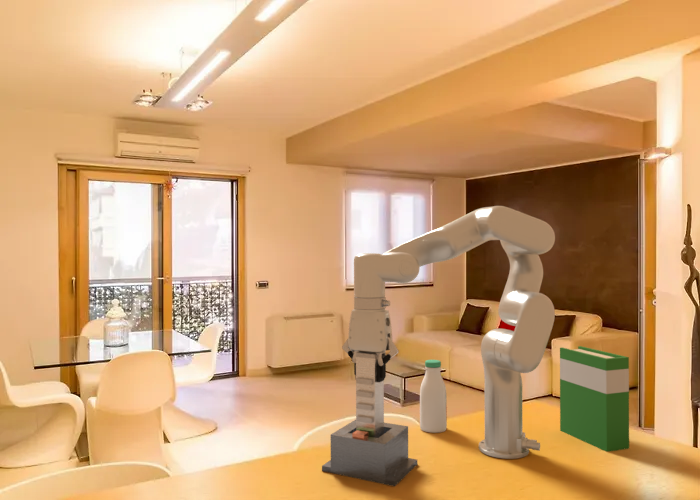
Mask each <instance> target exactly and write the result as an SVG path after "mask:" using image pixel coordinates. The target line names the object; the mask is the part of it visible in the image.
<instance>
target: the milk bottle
mask: <svg viewBox="0 0 700 500" xmlns="http://www.w3.org/2000/svg"><path fill="white" fill-rule="evenodd" d="M424 361H425V362H424V366H425V367H424V368H425V373H424V377H423V379H422V381H421V384H420V388H419V428H420V430H421V431H422V432H427V433H431V434H436V433H437V434H439V433H443V432H446V430H447V427H448V425H447V423H448V422H447V418H448V416H447V412H448V411H447V410H448V409H447V408H448V407H447V405H448V404H447V387H446V384H445V381H444V379H443V377H442V374H441V373H442V372H441V369H442V368H441V367H442V362H441V360H439V359H427V360H424Z"/></svg>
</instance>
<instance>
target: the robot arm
mask: <svg viewBox="0 0 700 500" xmlns="http://www.w3.org/2000/svg"><path fill="white" fill-rule="evenodd" d="M488 241H500V245H501V247H502V249H503V250H504V252H505V253H506V256H507V258H508V261H509V272H508V273H509V274H508V276H507V281H506V283H505V286H504V289H503V292H502V295H501V298H500V301H499V304H498V310H497V311H498V316H499V319H500V320H501V321H502V322H504V323H505V324H507V325H509V326H513V327H515V328H514V330H511V329H506V328H494V329H491V330H489V331H488V332H487V333H485V334H484V336H483V338H482V339H481V343H480V354H481V355H480V356H481V359H482V360H481V361H482V365H483V375H484V439H482V440H481V441H479V442H478V449H479V451H480V452H481V453H483V454H484V455H487V456H489V457H493V458H497V459H507V460H509V459H510V460H514V459H521V458H524V457H527V456H528V455H529V453H530V450H532V451H540V450H541V442H537V440H536V439H532V438H531V439H530V438H528V437H526V432H523V378H522V374H528V373H532V372H533V371H535V370H536V369H537V368H538V366H539V365H540V364H541V361H542V359H543V357H544V354H545V351H546V348H547V345H548V342H549V339H550V336H551V333H552V329H553V326H554V322H555V318H556V317H555V316H556V315H555V306H554V304H553V302H552V300H551V299H550V298H549V297H548V296H547V295H545V294H544V293H542V292H540V291H541V286H542V282H543V279H544V267H543V263H542V260H541V258H540V256H539V255H543V254H545V253H547V252H549V251H551V249H552V248H553V246H554V245H555V241H556V234H555V231H554V229H553V228H552V226H551V225H550V224H549V223H548V222H546V221H545V220H542V219H540V218H537V217H534V216H531V215H529V214H527V213H525V212H521V211H519V210H516V209H513V208H512V207H508V206H504V205H494V206H493V205H492V206H485V207H480V208H477V209H474V210H473V211H471V212H469V213H467V214H465V215H463V216H460V217H458V218H457V219H455V220H453V221H450V222H448V223H447V224H444V225H442V226H440V227H438V228H436V229H433V230H431V231H429V232H426V233H424V234H422V235H420V236H417V237H414V238H412V239H410V240H407V241H406V242H403V243H401V244H399V245H398V246H395V247H393V248H391V249H389V250H387V251H385V252H383V254H382V253H377V252H376V253H374V252H373V253H372V252H371V253H369V252H368V253H366V252H365V253H357V254H356V255H355V256H354V258H353V309H352V310H351V313H350V318H349V323H348V338H347V339H346V341H345V342H344V343H343V344H342V346H341V349H342V350H343V351H344V352H345V353H346V354H347V355H348V356H349V357H350V359H351V361H352V363H353V364H354V365H353V366H354V371H353V372H354V376H355V380H356V353H357V352H360V351H361V352H372V353H376V354H377V360H378V365H377V382H381V381H383V380H385V378H387V370H386V369H387V368H386V367H387V365H386V364H388V362H390V360H391V359H392V358H393V357H395V356H396V355H397V354H399V349H398V347H397V346H396V345H395V343H394V342H393V330H392V329H393V328H392V321H391V316H390V315H391V314H390V312H389V309H386V308H387V307H390V306H391V301H390V300H388V299H387V297H386V282H387V283H395V284H408V283H410V282H412V281H414V280H416V279H417V277H418V275H419V273H420V270H421V269H420V267H421V268H422V267H423V266H426V265H427V266H428V265H429V264H435V263H439V262H440V263H441V262H445V261H446V262H447V261H449V260H453V259H456V258H458V257H459V256H461V255H463V254H464V253H467V252H469V251H471V250H472V249H475V248H476V247H478V246H480V245H482V244H484V243H487V242H488ZM386 351H389V352H388V353H387V354H386Z"/></svg>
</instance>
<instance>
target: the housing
mask: <svg viewBox="0 0 700 500" xmlns="http://www.w3.org/2000/svg"><path fill="white" fill-rule="evenodd" d="M416 466H418V459H416V458H410V457H409V426H408V425H404V424H403V425H402V424H395V423H389V422H384V434H383V435H382V436H380V437H379V438H375V437H369V432H365V431H359V430H357V431H356V419H354V420H352V421H351V422H349V423H348V424H346V425H344V426H342V427H341V428H339V429H338V430H336V431H334V432H333V433H331V434H330V460H329V461H327V462H326V463H324V464H322V465H321V471H322V472H326V473H330V474H334V475H340V476H344V477H349V478H353V479H358V480H362V481H363V480H364V481H368V482H371V483H372V482H373V483H376V484H381V485H382V484H383V485H386V486H391V487H396V486H397V485H398V484H399V483H400V482H401V481H402V480H403V479H404V478H405V477H406V476H408V475H409V473H410V472H411V471H412V470H413V469H414V468H416Z"/></svg>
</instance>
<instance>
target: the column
mask: <svg viewBox="0 0 700 500" xmlns="http://www.w3.org/2000/svg"><path fill="white" fill-rule="evenodd" d="M377 365H378V360H377V354H376V353H372V352H361V351H360V352H357V353H356V379H355V410H356V411H355V420H356V431H357V430H359V431H365V432H369V437H375V438H379V437H380V436H382V435H383V434H384V423H385V403H384V402H385V401H384V400H385V399H384V398H385V392H384V391H385V390H384V389H385V384H384V382H385V381H384V380H385V379H384V380H383V381H381V382H377Z"/></svg>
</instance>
